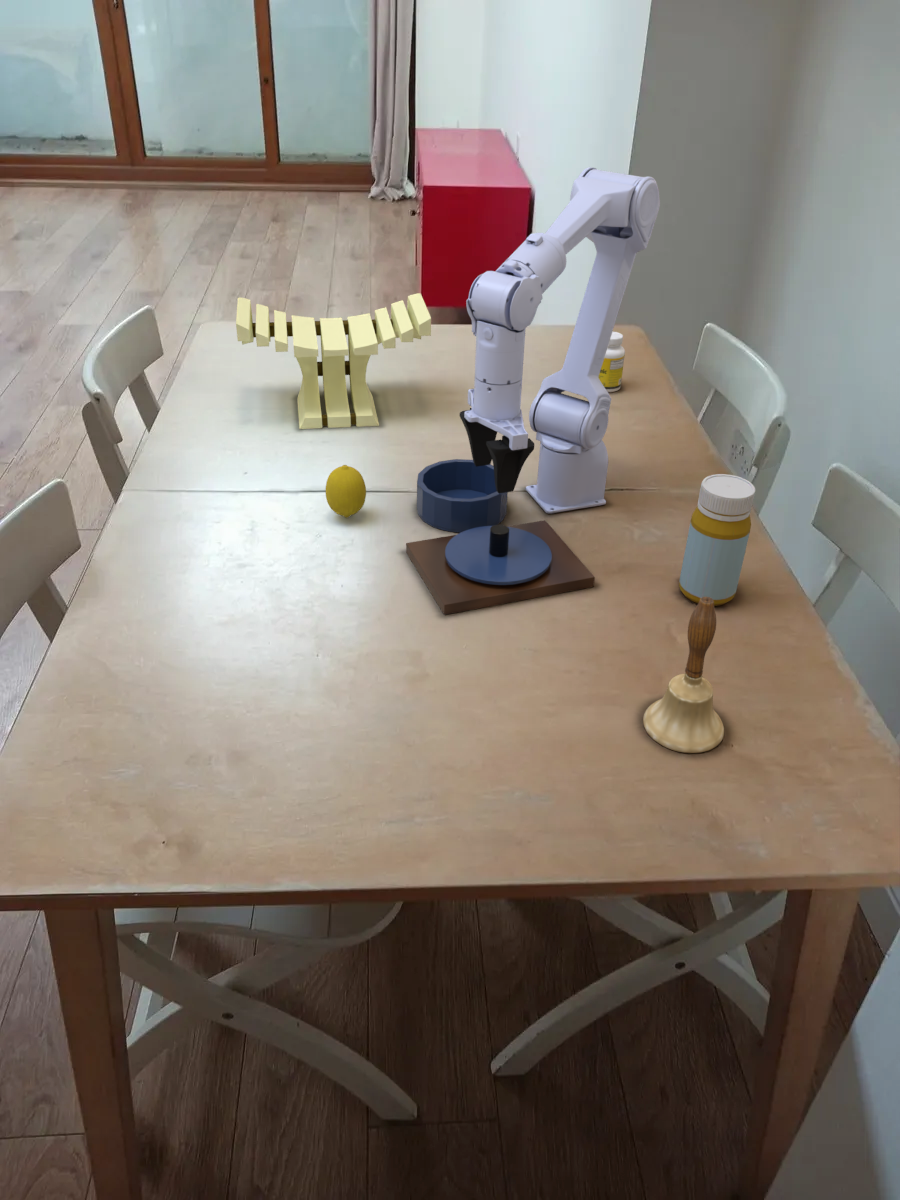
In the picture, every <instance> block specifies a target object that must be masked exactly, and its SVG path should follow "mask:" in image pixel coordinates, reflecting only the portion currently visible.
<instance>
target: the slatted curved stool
mask: <svg viewBox="0 0 900 1200" xmlns="http://www.w3.org/2000/svg"><path fill="white" fill-rule="evenodd" d="M251 301H252V300H251V299H250V298H246V297H237V303H236V304H237V305H236V317H235V319H236V320H235V325H236V326H235V327H236V337H237V342H241V345H242V346H243V345H247V344H251V343H254V338H255V341H256V343H255V344H256V347H258V348H259V347H262V348H263V347H265V348H266V347H270V342H271V338H274V347H275V349H274V350H275V353H287V352H289V339H288V338H289V337H292V343H293V358H295V359H296V361H297V363H298V365H299V369H300V371H301V374H302V381H301V384H300V389H299V391H298V395H297V400H296V401H297V417H298V429H299V430H308V429H309V430H311V429H323V427H327V428H328V429H332V428H333V429H334V428H335V429H336V428H338V429H339V428H351V427H352V426H356V427H357V428H359V427H360V428H361V427H379V426H380V423H379V417H378V414H377V410H376V405H375V401H374V397H373V394H372V392H371V390H370V388H369V386H368V384H367V379H366V378H367V377H366V376H367V375H366V374H367V368H368V363H369V361H370V358H371V356H378V355H379V345H380V344H382V347H383V349H384V350H387V349H388V350H389V349H396V347H397V346H396V345H397V344H396V342H397V341H396V339H400V343H414V339H417V340H422V337H431V336H432V317H431V314H430V311H429V309H428V307H427V305H426V302H425V300H424V298H423V296H422V293H421V292H419V293H414V294H409V295H407V300H406V302H407V303H406V304H405V302H404V300H403V299H401V300H398V301H395V302H392V303H390V315H389V311H388V309H387V306H385V307H381V308H378V309H374V319H372V317H371V313H370V312H368V313H363V314H357V315H350V316H347V319H343V317H319V320H315V317H310V316H301V315H293V314H291V321H287V313H286V312H285V311H281V310H276V309H274V310H273V311H274V312H273V317H274V318H273V321H270V311H269V306H266V305H264V304H260V303H256V304H255V305H256V306H255V322H253V321H254V320H253V312H252V311H253V310H252V302H251ZM317 336H319V337H320V350H321V351H320V352H321V361H318V357H319V346H318V338H317ZM346 336H347V337H346ZM345 356H347V357H348V360H345V359H346V357H345ZM346 376H348V377H349V391H350V398H351V399H350V400H351V404H352V409H353V410H352V411H353V412H351V411H350V403H349V399H348V398H349V397H348V390H347V381H346V380H347V378H346ZM319 377H322V385H323V386H322V387H323V398H324V405H325V406H324V407H325V414H324V413H323V414H322V409H321V408H322V407H321V398H320V388H319V387H320V386H319Z"/></svg>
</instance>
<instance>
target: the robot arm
mask: <svg viewBox="0 0 900 1200" xmlns="http://www.w3.org/2000/svg"><path fill="white" fill-rule="evenodd" d="M571 186H572V187H571V191H570V198H569V202H568V203H567V205H565V207H563V210H562V211H561V212H560V213H559V215H558V216H557V218H555V220H554V221H553V222H552V223H551V225H550V226H549V228H547V230H546V231H545V232H534V233H533V232H532V233H530V234H529V235H528V236H527V237H526V239H525V240H524V241H523V242H522V243H521V244H520V245H519V246H518V247H517V248H516V249H515V250H514V251H513V253H511V254H510V255H509V257H507V258H506V259H505V260H504V262H502V263H501V264H500V266H498V268H497V269H496V270H495V271H494V270H486V271H485V272H483V273H481V274H479V275H477V277H476V278H475V279H474V280H473V282H472V284H471V286H470V289H469V292H468V298H467V299H466V301H465V302H466V303H465V304H466V306H465V307H466V311H467V314H468V316H469V318H470V321H471V333H472V334H473V336H474V337H475V358H474V359H475V360H474V386H473V387H474V388H469V389H467V404H468V405H469V406H470V407H469V409H466V410H462V411H460V412H459V415H458V416H459V417H460V421H462V424H463V426H464V429H465V431H466V435H467V438H468V443H469V446H470V452H471V457H472V460H473V462H474V465H475V466H476V467H478V466H484V465H490V464H491V465H493V466H494V478H495V487H496V490H497V492H498V493H506V492H508V493H513V492H514V490H515V488H516V485H517V482H518V479H519V476H520V474H521V471H522V469H523V466H524V464H525V462H526V461H527V459H528V458H529V457H530V455H531V454H532V452H533V451H534V450H535V442H534V441H533V440H532V439H531V438H530V437H529V433H528V432H527V430H526V429H525V423H524V417H523V411H522V409H521V403H522V391H523V390H522V388H523V374H524V359H525V358H524V357H525V344H526V343H525V342H526V330H527V328H528V327H530V326H531V324H532V322H533V320H534V318H535V316H536V314H537V310H538V308H539V306H540V304H541V303H542V300H543V295H544V293H545V292H546V291H547V290H548V289H549V288H550V287H551V285H553V283H554V282H555V281H557V279H558V278H559V277H560V276H561V275H562V274H563V272H564V271H565V270H566V267H567V254H569V252H571V251H572V250H573V249H574V248H575V247H577V246H578V245H579V244H580V243H581V242H582V241H584V239H588V240H589V241H590V242H592V243H593V244H594V249H595V251H596V255H595V258H594V261H593V264H592V268H591V270H590V275H589V277H588V281H587V284H586V288H585V292H584V295H583V298H582V302H581V305H580V308H579V311H578V315H577V318H576V322H575V326H574V327H573V332H572V335H571V338H570V342H569V344H568V348H567V352H566V354H565V355H566V356H565V359H564V362H563V366H562V368H561V369H559V370H558V371H555V372H553V373H552V374H550V375H547V376H546V377H544V378H543V379H542V381H541V384H540V387H539V390H538V392H537V394H536V395H535V396H534V399H533V400H532V402H531V405H530V408H529V411H528V412H529V413H528V422H529V427H530V428H531V430H532V431H533V432H534V433H536V435H535V440H536V441H538V442H539V452H538V453H539V454H538V467H537V477H536V478H537V479H536V484H531V485H526V486H525V491H526V492H527V493H528V494H529V495H530V496H531V498H532V499H533V500H534V501H535V502H536V503H537V504H538V505H539V506H540V508H541V509H542V510H543V511H544V512H545V513H546V514H555V513H561V512H568V511H573V510H580V509H586V508H593V507H598V506H603V505H606V504H607V500H606V499H605V492H606V483H607V476H608V468H609V454H608V449H607V446H606V444H605V443H604V441H603V438H604V437H605V435H606V432H607V429H608V425H609V414H610V409H611V404H612V397H611V395H610V392H607V390H606V389H605V387H604V386H603V384H602V383H601V381H600V380H599V378H598V377H599V374H600V370H601V367H602V364H603V361H604V357H605V354H606V351H607V348H608V344H609V341H610V338H611V335H612V331H613V332H614V328H615V324H616V322H617V318H618V315H619V312H620V308H621V305H622V302H623V298H624V296H625V292H626V289H627V285H628V282H629V279H630V276H631V273H632V270H633V266H634V263H635V259H636V257H637V254H638V253H639V252H641V251H644V250H646V249H647V247H648V244H649V241H650V239H651V237H652V233H653V230H654V228H655V227H654V226H655V224H656V221H657V217H658V214H659V210H660V206H661V199H660V189H659V186H658V182H657V180H656V179H655V178H654V177H652V176H649V175H648V176H638V175H633V174H626V173H621V172H615V171H608V170H602V169H598V168H596V167H592V166H589V167H585V168H584V169H583V170H582V171H581V172H580V173H579V175H578V176H577V178H575V179H574V180H573V183H572V185H571ZM564 392H569V393H571V394H576V395H578V396H582V397H584V398H585V399H586V400H585V399H581V398H579V397H575V396H572V395H569V394H565V393H564ZM498 433H499V434H500V435H502V436H501V439H497V436H498Z"/></svg>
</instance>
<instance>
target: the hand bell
mask: <svg viewBox="0 0 900 1200" xmlns="http://www.w3.org/2000/svg"><path fill="white" fill-rule="evenodd" d="M716 630H717V614H716V609H715V606H714V600H713V599H712V598H710V597H702V598H700V601H699V603H697V605H696V606H695V608H694V610H693V611H692V612H691V615H690V618H689V621H688V625H687V642H688V649H689V650H688V656H687V657H688V658H687V662H686V665H685V668H684V669H685V670H684V672H685V673H680V674H677V675H675V676H674V677H672V678H671V679H670V680H669V683H668V685H667V687H666V691H665V693H664V695H663V696H662V698H660V699H658V700H655V701H654V702H653V703H651V704H650V705H649V706H648V707H647V708H646V710H645V711H644V713H643V718H642V723H643V727H644V730H645V731H646V733H647V735H648V736H649V737H650V738H651V739H652V740H653V741H655V742H656V743H657V744H659V745H661V746H663V747H664V748H666V749H668V750H671V751H674V752H678V753H683V754H684V753H685V754H699V753H700V754H701V753H705V752H708V751H711V750H713V749H715V748H716V747H717V746H718V745H720V744H721V742H722V741H723V739H724V736H725V727H724V723H723V721H722V719H721V717H720V715H719V714H718V713H717V712H716V711H715V710H714V689H713V688H714V687H713V686H712V684H711V683H710V682H709V680H707V678H704V677H703V673H704V664H705V656H706V654H707V651H708V649H709V648H710V646H711V645H712V643H713V640H714V637H715V633H716Z"/></svg>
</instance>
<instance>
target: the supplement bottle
mask: <svg viewBox="0 0 900 1200" xmlns="http://www.w3.org/2000/svg"><path fill="white" fill-rule="evenodd" d="M623 341H624V335H623V334H622V333H620V332H618V331H614V330H613V331H612V335H611V338H610V341H609V344H608V348H607V351H606V354H605V357H604V361H603V364H602V367H601V370H600V374H599V377H598V378H599V380H600V381H601V383H602V384H603V386H604V387H605V389H606V390H607V392H608V393H614V392H617V391H619V390H620V389H621V387H622V380H623V372H624V363H625V357H626V350H625V348H624V346H622V345H623Z"/></svg>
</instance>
